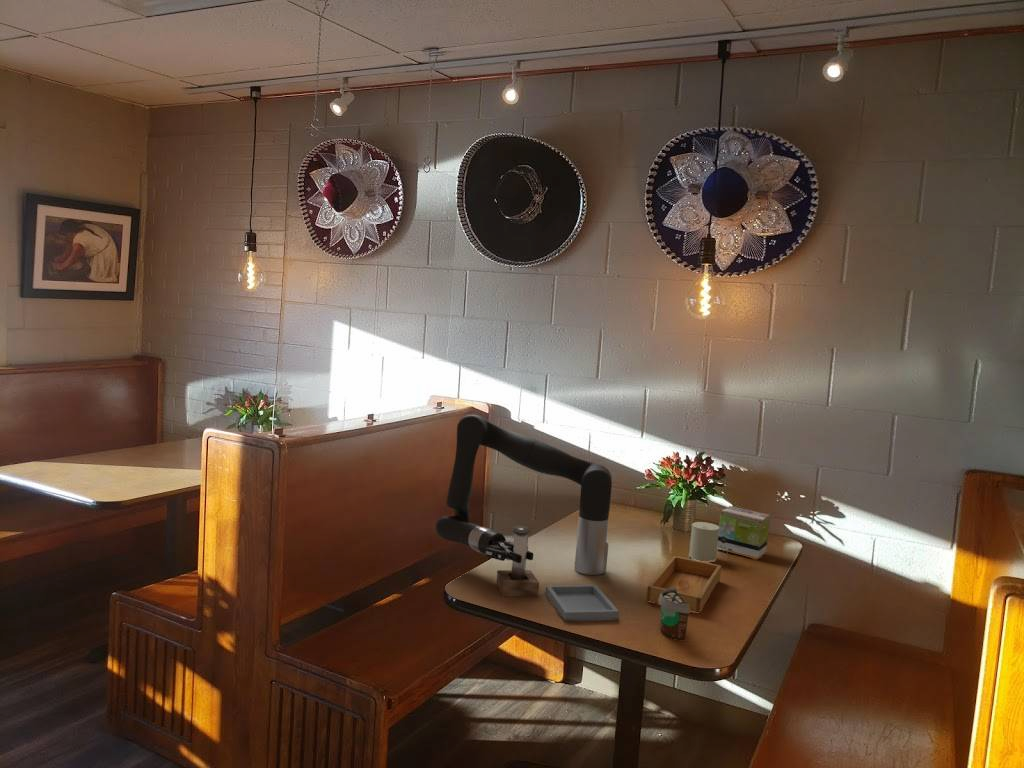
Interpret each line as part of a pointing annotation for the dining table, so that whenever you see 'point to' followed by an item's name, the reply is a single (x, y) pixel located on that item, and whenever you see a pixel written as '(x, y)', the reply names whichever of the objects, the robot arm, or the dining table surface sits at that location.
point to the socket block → (517, 584)
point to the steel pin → (520, 551)
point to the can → (704, 541)
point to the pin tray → (581, 603)
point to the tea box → (743, 531)
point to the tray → (686, 581)
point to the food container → (673, 614)
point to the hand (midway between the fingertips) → (526, 558)
